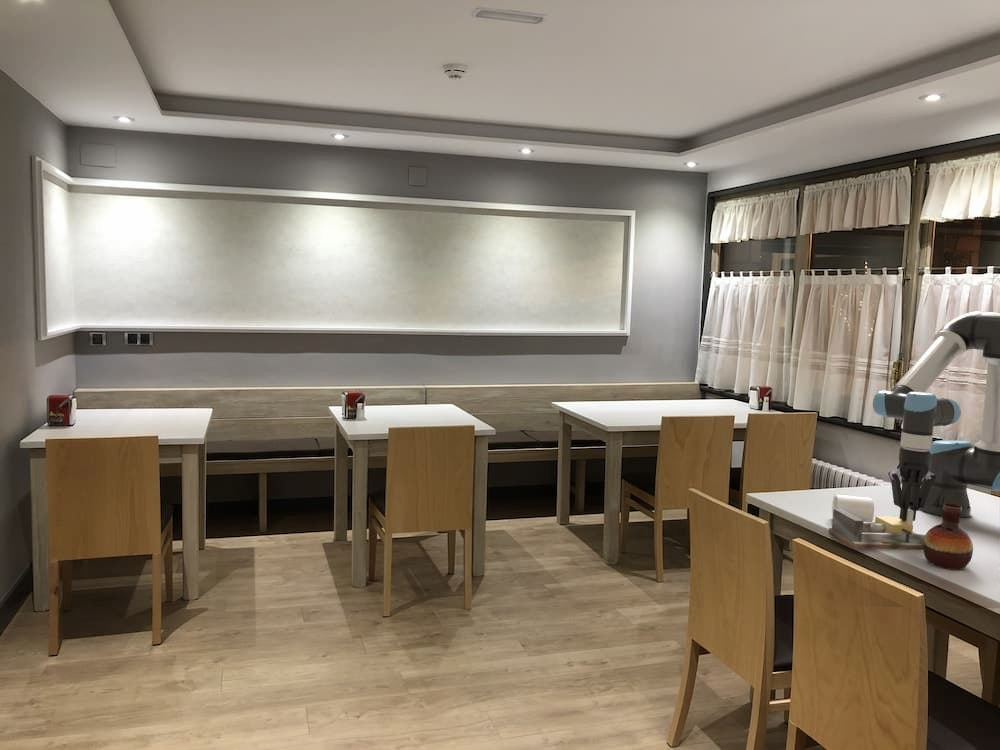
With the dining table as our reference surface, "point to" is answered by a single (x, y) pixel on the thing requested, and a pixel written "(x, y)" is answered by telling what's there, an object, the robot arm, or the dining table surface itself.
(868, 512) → the mug
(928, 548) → the vase
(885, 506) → the dining table surface
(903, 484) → the robot arm
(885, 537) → the bench
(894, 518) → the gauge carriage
